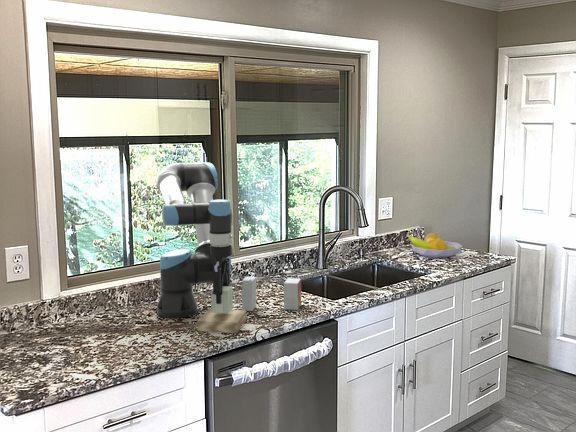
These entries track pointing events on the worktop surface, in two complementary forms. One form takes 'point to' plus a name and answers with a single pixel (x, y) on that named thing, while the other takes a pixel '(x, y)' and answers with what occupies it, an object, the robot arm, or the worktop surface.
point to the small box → (292, 294)
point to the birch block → (222, 321)
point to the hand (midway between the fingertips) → (222, 309)
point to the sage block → (224, 299)
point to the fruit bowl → (434, 246)
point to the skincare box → (249, 293)
